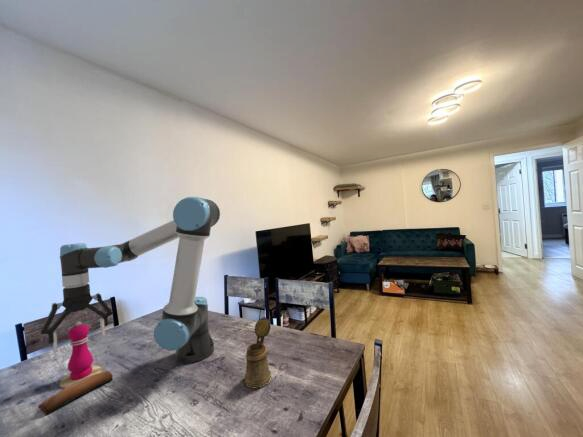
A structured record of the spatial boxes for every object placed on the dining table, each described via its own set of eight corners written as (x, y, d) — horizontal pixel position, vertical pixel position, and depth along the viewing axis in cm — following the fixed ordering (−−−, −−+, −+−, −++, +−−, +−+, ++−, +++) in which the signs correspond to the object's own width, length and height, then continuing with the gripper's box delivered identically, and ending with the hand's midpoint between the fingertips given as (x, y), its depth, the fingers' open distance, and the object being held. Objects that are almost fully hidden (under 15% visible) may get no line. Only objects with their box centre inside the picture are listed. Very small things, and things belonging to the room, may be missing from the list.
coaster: (105, 374, 94) (105, 372, 94) (62, 392, 85) (62, 390, 85) (97, 363, 101) (97, 362, 101) (57, 379, 92) (57, 377, 92)
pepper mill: (83, 381, 89) (79, 325, 89) (63, 381, 89) (59, 326, 89) (98, 368, 97) (95, 316, 96) (80, 369, 97) (77, 317, 97)
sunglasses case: (101, 374, 94) (104, 360, 92) (110, 388, 91) (114, 374, 89) (34, 407, 78) (37, 392, 77) (43, 425, 75) (46, 410, 74)
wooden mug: (279, 365, 93) (276, 317, 93) (265, 390, 80) (262, 333, 80) (256, 363, 96) (254, 315, 96) (240, 386, 82) (237, 331, 82)
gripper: (113, 276, 105) (117, 327, 105) (26, 293, 86) (31, 355, 86) (119, 278, 100) (123, 331, 100) (28, 296, 81) (33, 362, 81)
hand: (80, 342), depth 93 cm, fingers open, 13 cm apart
